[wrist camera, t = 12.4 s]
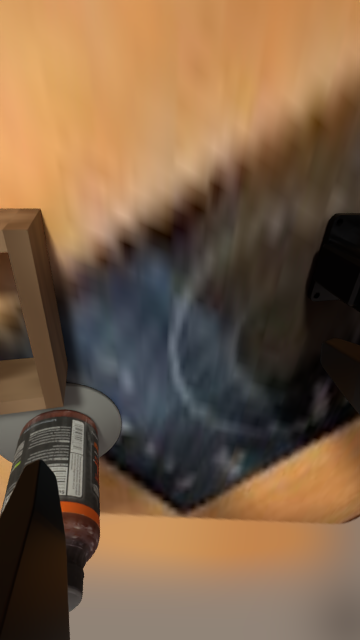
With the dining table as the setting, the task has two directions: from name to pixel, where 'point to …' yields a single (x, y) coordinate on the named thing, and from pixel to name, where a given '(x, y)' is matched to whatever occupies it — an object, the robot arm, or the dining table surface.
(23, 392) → the walnut box
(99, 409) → the rubber mat
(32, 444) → the supplement bottle
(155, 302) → the dining table surface
